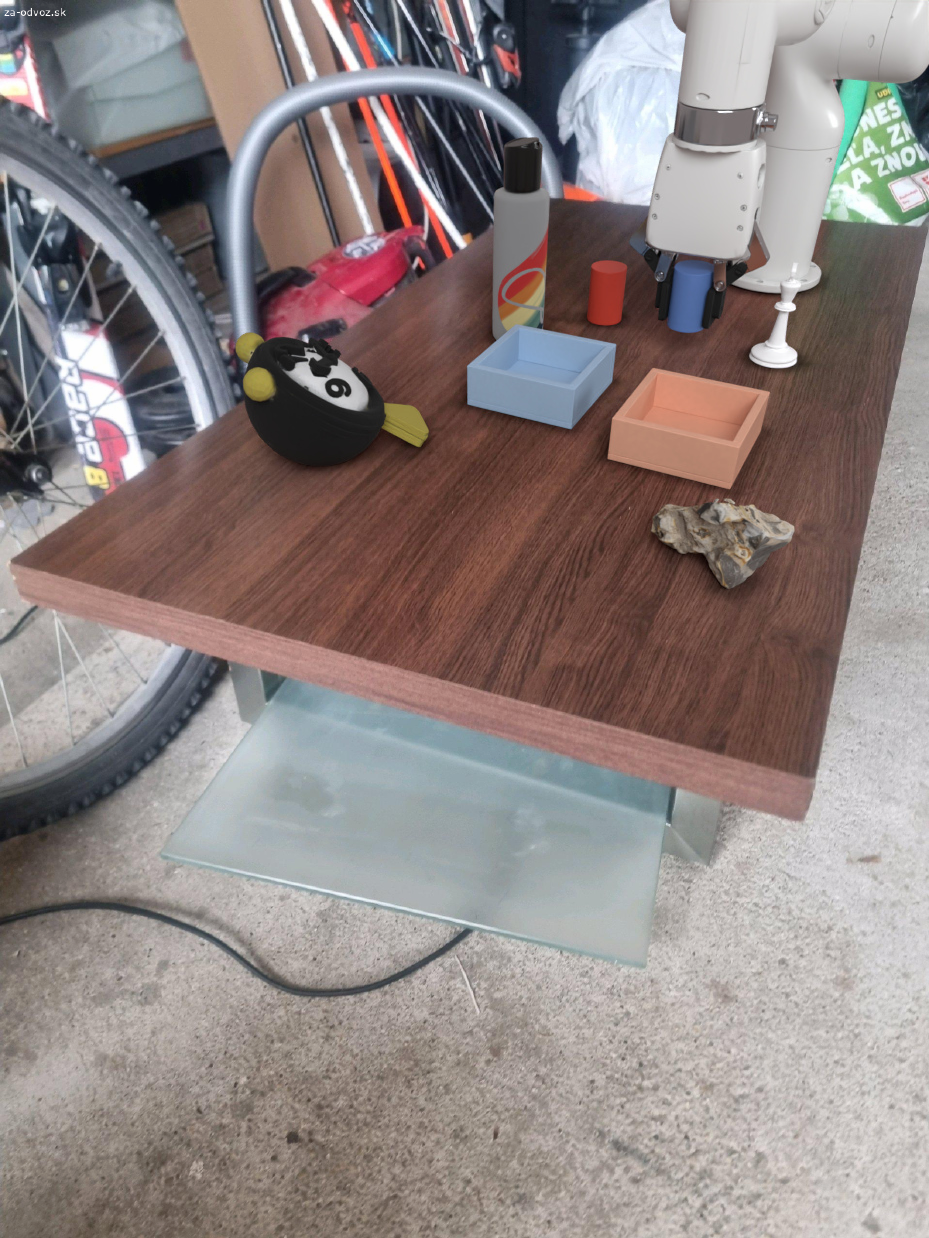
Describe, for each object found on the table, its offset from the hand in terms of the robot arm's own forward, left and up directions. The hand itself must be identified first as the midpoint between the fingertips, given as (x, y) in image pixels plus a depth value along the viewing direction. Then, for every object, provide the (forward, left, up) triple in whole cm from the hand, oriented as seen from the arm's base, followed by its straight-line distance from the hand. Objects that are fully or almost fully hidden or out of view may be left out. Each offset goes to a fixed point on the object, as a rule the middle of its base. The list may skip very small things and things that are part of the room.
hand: (687, 318), depth 90 cm
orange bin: (+18, +6, -4) cm, 19 cm away
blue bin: (+14, -10, -4) cm, 18 cm away
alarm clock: (+34, -22, -4) cm, 41 cm away
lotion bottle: (+3, -18, -4) cm, 19 cm away
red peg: (-6, -11, -4) cm, 13 cm away
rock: (+34, +13, -5) cm, 37 cm away
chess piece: (-4, +9, -4) cm, 11 cm away
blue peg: (0, 0, -1) cm, 1 cm away
